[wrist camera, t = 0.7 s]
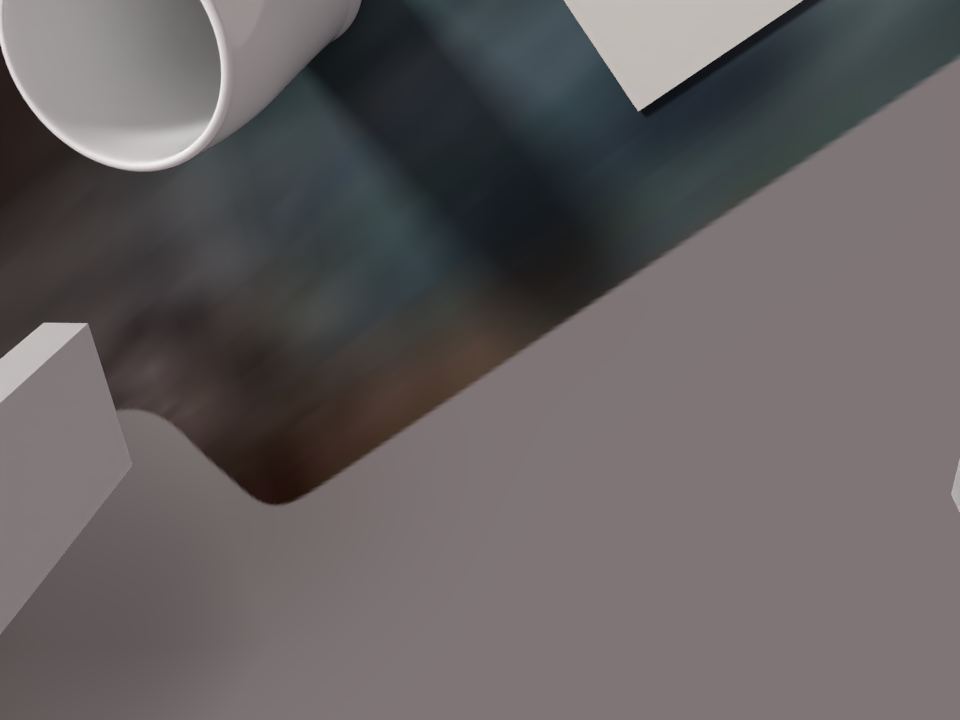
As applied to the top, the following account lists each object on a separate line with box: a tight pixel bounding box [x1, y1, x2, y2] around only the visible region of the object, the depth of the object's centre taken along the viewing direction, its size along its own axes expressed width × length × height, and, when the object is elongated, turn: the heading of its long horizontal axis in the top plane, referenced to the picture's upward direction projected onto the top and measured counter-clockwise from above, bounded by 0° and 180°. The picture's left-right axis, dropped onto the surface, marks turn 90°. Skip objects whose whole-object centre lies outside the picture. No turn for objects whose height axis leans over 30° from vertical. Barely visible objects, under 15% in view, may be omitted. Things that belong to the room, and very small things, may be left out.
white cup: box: [0, 0, 362, 172], centre depth 30 cm, size 7×7×15 cm
